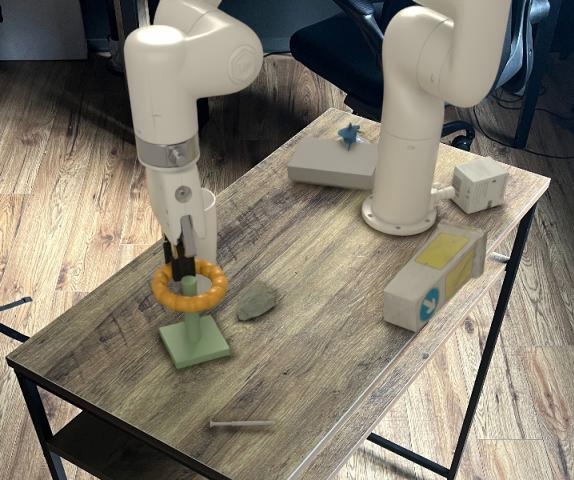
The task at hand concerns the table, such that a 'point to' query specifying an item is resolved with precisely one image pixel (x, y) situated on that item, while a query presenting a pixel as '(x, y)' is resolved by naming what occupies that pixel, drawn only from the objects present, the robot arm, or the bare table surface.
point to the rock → (256, 302)
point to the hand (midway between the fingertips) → (180, 271)
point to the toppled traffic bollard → (435, 274)
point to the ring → (193, 302)
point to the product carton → (479, 184)
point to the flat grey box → (334, 163)
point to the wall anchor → (243, 423)
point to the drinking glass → (207, 240)
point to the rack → (193, 335)
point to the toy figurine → (350, 134)
